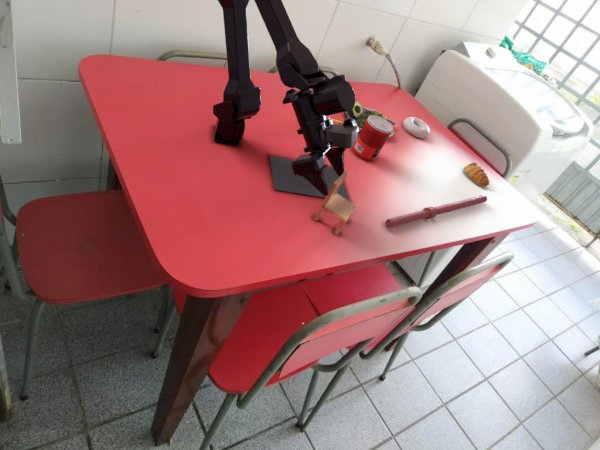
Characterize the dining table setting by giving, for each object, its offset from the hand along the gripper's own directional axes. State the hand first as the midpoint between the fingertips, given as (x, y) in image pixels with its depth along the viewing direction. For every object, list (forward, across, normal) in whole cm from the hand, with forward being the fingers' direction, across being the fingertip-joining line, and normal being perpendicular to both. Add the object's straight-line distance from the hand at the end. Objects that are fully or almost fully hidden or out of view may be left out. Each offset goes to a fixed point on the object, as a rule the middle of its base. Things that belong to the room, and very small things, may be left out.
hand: (334, 186), depth 91 cm
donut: (+11, +68, +2) cm, 69 cm away
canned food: (+5, +35, +8) cm, 36 cm away
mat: (0, +9, +12) cm, 15 cm away
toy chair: (+8, 0, +4) cm, 9 cm away
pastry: (+29, +62, -16) cm, 70 cm away
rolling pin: (+24, +29, -12) cm, 40 cm away
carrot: (-6, +40, +16) cm, 43 cm away
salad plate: (0, +53, +12) cm, 54 cm away
